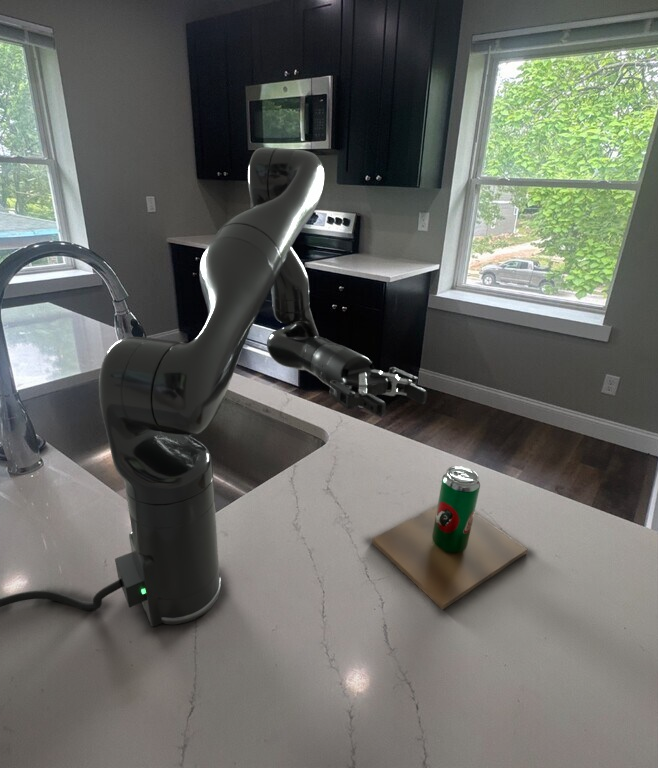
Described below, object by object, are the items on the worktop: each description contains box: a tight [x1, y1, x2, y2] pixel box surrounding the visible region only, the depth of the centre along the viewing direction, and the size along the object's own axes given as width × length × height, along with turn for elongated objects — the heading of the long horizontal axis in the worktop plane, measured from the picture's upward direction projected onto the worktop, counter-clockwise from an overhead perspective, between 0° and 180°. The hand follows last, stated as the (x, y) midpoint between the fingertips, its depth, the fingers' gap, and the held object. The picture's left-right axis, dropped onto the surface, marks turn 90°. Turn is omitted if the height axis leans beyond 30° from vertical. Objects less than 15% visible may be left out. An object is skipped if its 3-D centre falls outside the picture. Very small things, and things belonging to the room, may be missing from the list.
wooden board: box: [371, 506, 528, 611], centre depth 68 cm, size 18×14×1 cm
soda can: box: [432, 465, 481, 553], centre depth 66 cm, size 5×5×12 cm
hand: (405, 403), depth 70 cm, fingers open, 8 cm apart
